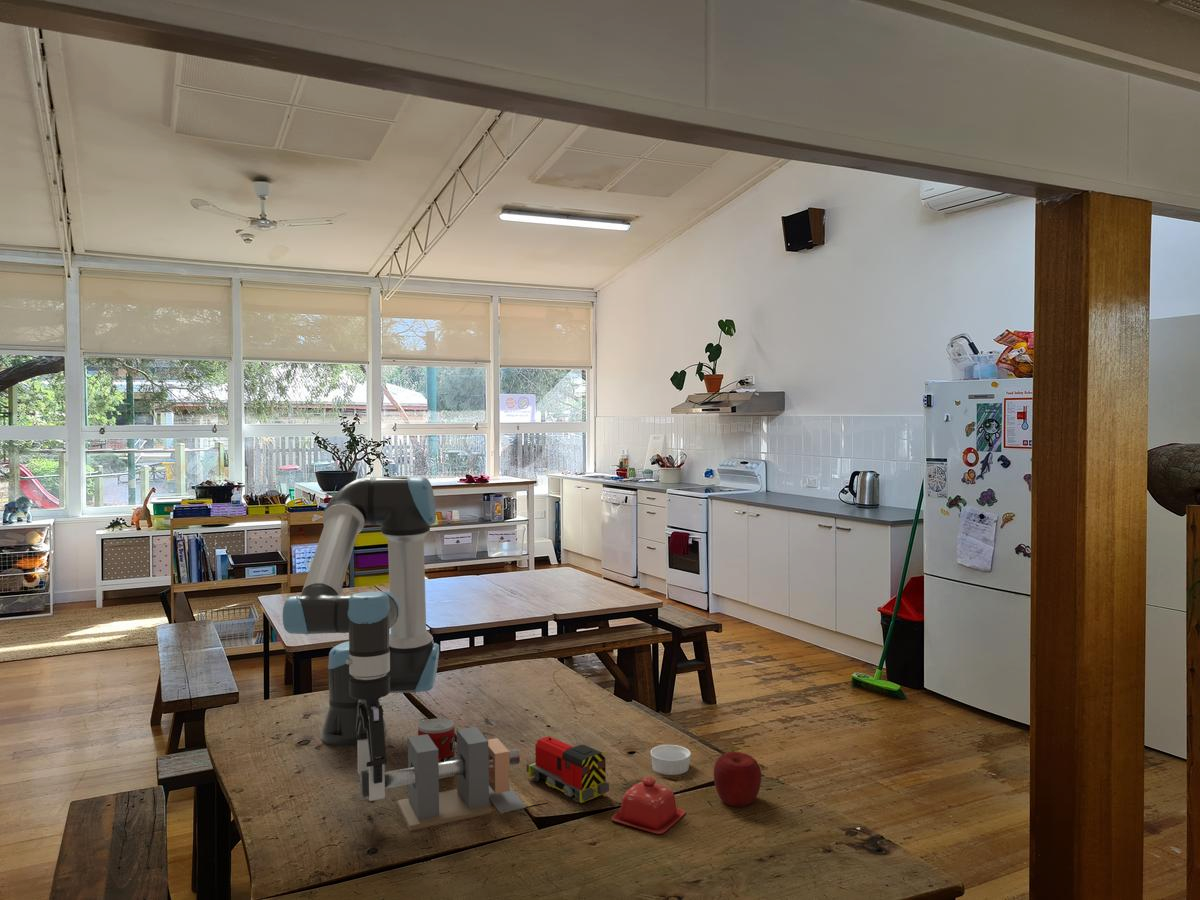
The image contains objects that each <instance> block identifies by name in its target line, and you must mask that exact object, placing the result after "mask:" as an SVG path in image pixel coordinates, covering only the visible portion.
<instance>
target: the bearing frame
mask: <svg viewBox="0 0 1200 900" xmlns="http://www.w3.org/2000/svg"><path fill="white" fill-rule="evenodd" d="M488 740H489V739H487V737H485V735H484V734H483V733H482V732H481V730H480V729H479V728H478V727H476V726H470V727H464V728H458V729H456V759H462V758H464V759H465V764H466V774H462V775H457V776H456V778H457V779H456V780H457V781H456V785H457V787H456V788H454V789H449V790H444V791H440V786H439V784H440V783H439V782H440V779H439V762H438V748H437V747H436V745H435V744H434V743H433V741H432V740H431V738H430V737H429V735H428V734H425V735H419V736H418V735H414V736H408V737H407V768H411V767H414V768H415V783H413V784H408V787H407V788H408V792H407V793H408V798H407V797H406V798H403V799H402V798H401V799H397V801H396V806H397V808H398V809H399V812H400V814H401V816H402V818H403V821H404V822H405V824H406V826H407V828H408V830H409V832H410V831H415V830H419V829H423V828H428V827H434V826H438V825H443V824H448V823H452V822H456V821H457V822H458V821H461V820H466V819H470V818H475V817H479V816H486V815H488V814H492V808H491V806H490V799H489V750H488Z"/></svg>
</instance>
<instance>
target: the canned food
mask: <svg viewBox="0 0 1200 900" xmlns="http://www.w3.org/2000/svg"><path fill="white" fill-rule="evenodd" d="M425 734H428V735H429V737H430V738H431V740H432V741H433V743H434V744H435V745H436V747H437V748H438V762H445V761H451V760H456V756H455V755H456V753H455V751H456V750H455V748H456V745H455V744H456V742H455V741H456V740H455V738H456V737H455V735H456V734H455V722H454V721H453V720H451V719H448V718H443V717H442V718H440V717H439V718H437V717H436V718H430V719H425V720H423V721H421V722H419V723H418V728H417V736H419V735H425ZM446 778H448V777H446ZM446 778H445V779H446ZM441 779H444V778H441ZM441 779H440V780H441Z"/></svg>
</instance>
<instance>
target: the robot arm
mask: <svg viewBox="0 0 1200 900" xmlns="http://www.w3.org/2000/svg"><path fill="white" fill-rule="evenodd" d="M436 509H437V507H436V500H435V494H434V489H433V486H432V483H431V481H430V480H429V479H428V478H426V477H423V476H414V475H413V476H412V475H404V476H401V475H400V476H398V475H397V476H377V477H376V476H366V477H361V478H358V479H354V480H353V481H351V482H349V483H347V484H346V485H344V486H343V487H342V488H340V489H339V490H338V491H337V492H336V493H334V495H333V496H332V497H331V498H330V500H329V501H328V503H327V504H326V506H325V508H324V511H323V513H322V518H321V519H322V524H323V528H322V530H321V534H320V538H319V540H318V543H317V546H316V548H315V552H314V556H313V558H312V561H311V564H310V566H309V570H308V574H307V576H306V579H305V582H304V585H303V588H302V590H301V595H299V594H296V595H294V596H293V595H292V596H289V597H288V598H286V600H285V601H284V603H283V607H282V625H283V628H284V630H285V632H286V633H288V634H293V635H294V634H295V635H306V636H307V635H315V634H316V635H318V634H320V635H321V634H322V635H323V634H347V633H348V641H345V642H341V643H339V644H337V645H335V646H334V647H332V648H331V649H330V651H329V653H328V665H327V669H328V703H329V704H328V705H329V706H328V710H327V713H326V717H325V720H324V721H323V722H324V723H323V727H322V729H321V730H322V732H321V738H322V742H324V743H325V744H328V745H330V746H335V747H354V746H357V774H358V775H360V772H361V771H365V770H369V797H368V800H369V801H370V802H371V801H377V800H382V799H385V798H386V794H385V793H386V789H385V772H386V771H385V770H386V769H385V765H386V764H388V758H387V748H386V739H385V738H386V737H385V734H386V732H387V730H386V728H387V726H386V721H385V718H384V709H383V705H382V704H381V703H380V701H379V699H381V698H383V697H386V696H388V695H389V694H404V693H405V694H410V693H413V694H416V693H422V692H423V693H425V692H429V691H431V690H433V688H434V685H435V682H436V677H437V671H438V665H439V656H440V644H438V643H436V642H434V639H433V638H434V637H433V634H431V633H430V632H429V631H428V630H427V615H426V614H427V610H426V609H427V608H426V603H427V602H426V573H425V572H426V571H425V569H426V567H425V540H424V539H425V537H426V536H427V535H428V534H429V532H431V529H430V528H431V526H432V525H434V524H436V521H437V512H436V511H437V510H436ZM365 526H380V530H381V531H380V533H381V535H382V536H383V537H384V538H386V539H387V551H388V552H387V553H388V554H387V555H388V578H389V579H388V583H389V591H385V590H379V591H377V590H376V591H363V592H358V593H354V594H346V595H343V594H341V593H342V589H343V585H344V582H345V578H346V574H347V572H348V567H349V563H350V560H351V557H352V553H353V550H354V546H355V543H356V539H357V536H358V534H360V533H361V532H362V531H363V530H364V527H365Z"/></svg>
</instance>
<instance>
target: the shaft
mask: <svg viewBox="0 0 1200 900" xmlns="http://www.w3.org/2000/svg"><path fill="white" fill-rule="evenodd" d="M508 750H509V755H510V767H511V766H517V765H519V764H520V763H521V762H520V761H521V760H520V752H519V749H518V748H514V749H508ZM490 769H493V758H492V757H491V756H490V755H489V770H490ZM462 774H466V764H465V759H464V758H462V759H457V758H455V760H451V761H445V762H439V780H441V778H443V779H446V777H447V778H450V777H457V775H462ZM413 783H415V768H414V767H411V768H408V767H405V768H400V769H394V770H389V771H385V790H386V789H391V788H397V787H402V786H407V785H408V784H413ZM359 787H360V789H359V790H360V794H361V798H362V799H364V798H369V770H365V771H361V772H360V774H359Z"/></svg>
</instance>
